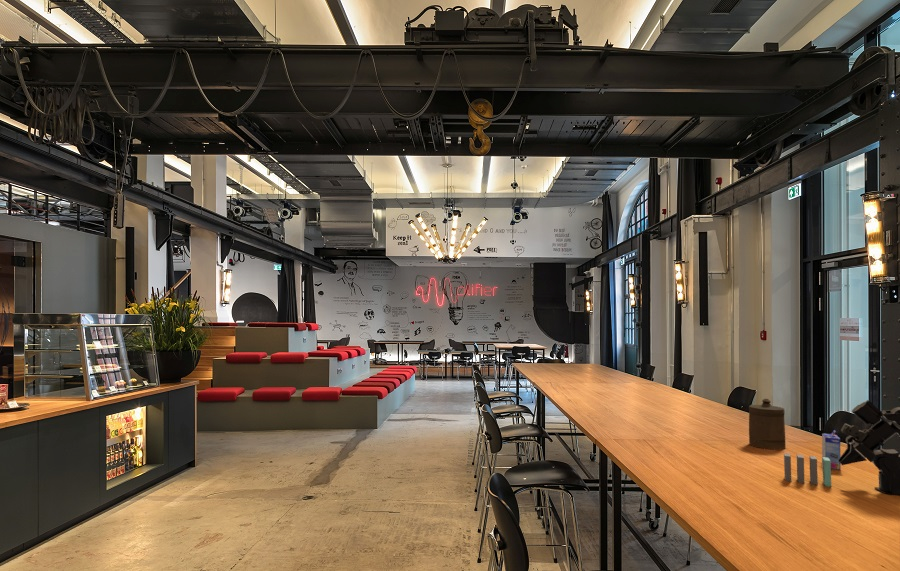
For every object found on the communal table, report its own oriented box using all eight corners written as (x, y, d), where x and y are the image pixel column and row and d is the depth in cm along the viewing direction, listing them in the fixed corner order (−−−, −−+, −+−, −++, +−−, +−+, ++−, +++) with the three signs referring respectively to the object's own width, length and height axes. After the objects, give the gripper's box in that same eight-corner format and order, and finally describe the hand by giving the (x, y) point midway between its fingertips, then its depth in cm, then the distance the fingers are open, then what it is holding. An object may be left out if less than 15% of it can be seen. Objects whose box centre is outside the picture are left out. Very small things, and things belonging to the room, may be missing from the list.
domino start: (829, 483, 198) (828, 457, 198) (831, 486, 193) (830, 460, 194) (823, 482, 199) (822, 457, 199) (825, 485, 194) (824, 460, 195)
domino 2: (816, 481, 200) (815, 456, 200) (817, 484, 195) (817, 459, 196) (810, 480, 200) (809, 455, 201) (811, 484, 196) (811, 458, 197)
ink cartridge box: (842, 470, 216) (840, 432, 217) (825, 468, 218) (824, 431, 219) (838, 464, 224) (836, 428, 225) (821, 462, 227) (820, 427, 228)
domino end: (790, 478, 203) (789, 453, 204) (791, 481, 199) (790, 456, 200) (784, 477, 204) (783, 453, 205) (785, 480, 200) (784, 455, 200)
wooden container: (785, 445, 259) (784, 398, 261) (785, 451, 247) (784, 402, 248) (750, 441, 267) (749, 395, 269) (748, 447, 255) (747, 399, 256)
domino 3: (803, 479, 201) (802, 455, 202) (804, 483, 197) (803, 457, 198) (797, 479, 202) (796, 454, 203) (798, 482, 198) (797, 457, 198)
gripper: (852, 412, 201) (817, 439, 206) (862, 420, 185) (824, 450, 189) (879, 436, 197) (843, 464, 202) (892, 447, 181) (852, 476, 185)
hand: (840, 462), depth 195 cm, fingers open, 3 cm apart
